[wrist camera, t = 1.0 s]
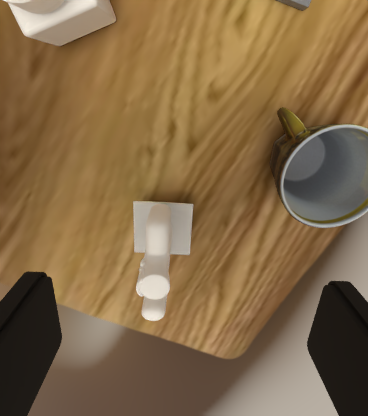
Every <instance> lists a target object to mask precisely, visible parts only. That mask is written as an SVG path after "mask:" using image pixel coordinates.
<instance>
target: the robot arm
mask: <svg viewBox="0 0 368 416" xmlns="http://www.w3.org/2000/svg"><path fill="white" fill-rule="evenodd" d="M61 340H62V333H61V328H60V323H59V317H58V311H57V305H56V300H55V294H54V289H53V283H52V279H51V277H47V275H46V273H44V272H25V273H24V274H23V275H22V276H21V278H20V279H19V280H18V281H17V282H16V283H15V285H14V286H13V287H12V288H11V290H10V291H9V292H8V293H7V294H6V295H5V297H4V298H3V299H2V300H1V301H0V416H27V415H28V413H29V411H30V408H31V406H32V404H33V402H34V400H35V398H36V396H37V394H38V391H39V389H40V387H41V385H42V383H43V381H44V379H45V377H46V374H47V372H48V370H49V368H50V366H51V364H52V362H53V360H54V357H55V355H56V353H57V351H58V349H59V347H60V343H61ZM307 347H308V351H309V354H310V356H311V358H312V360H313V362H314V364H315V366H316V368H317V370H318V373H319V374H320V377H321V379H322V381H323V383H324V385H325V387H326V390H327V392H328V394H329V396H330V398H331V400H332V402H333V404H334V407H335V409H336V411H337V413H338V415H339V416H368V302H367V301H366V300H365V299H364V298H363V296H362V295H361V294H360V293H359V292H358V291H357V289H356V288H355V287H354V286H353V285H352V284H351V283H350V282H347V281H331V282H329V283H328V285H325V286H324V288H323V291H322V294H321V297H320V301H319V304H318V308H317V311H316V314H315V317H314V321H313V324H312V327H311V331H310V334H309V338H308V341H307Z"/></svg>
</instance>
